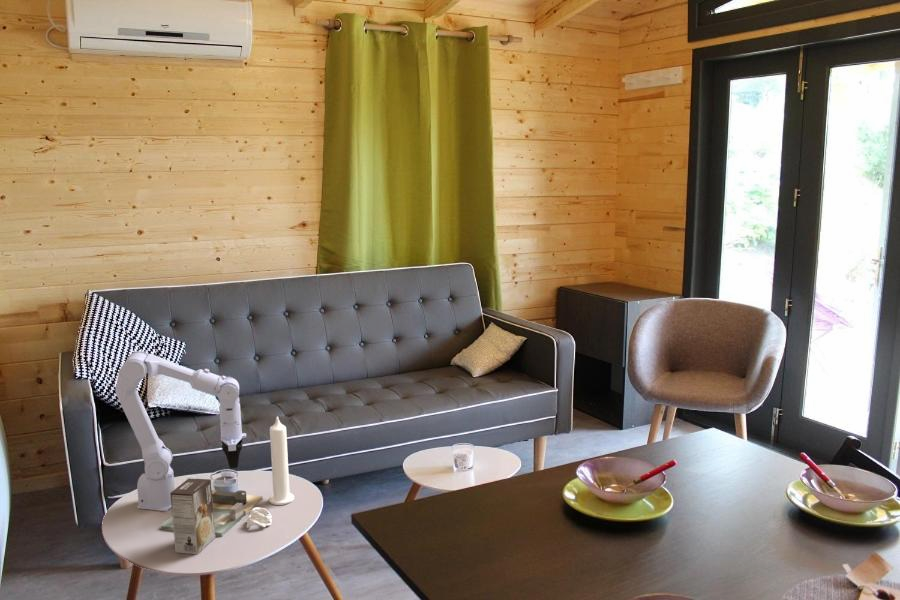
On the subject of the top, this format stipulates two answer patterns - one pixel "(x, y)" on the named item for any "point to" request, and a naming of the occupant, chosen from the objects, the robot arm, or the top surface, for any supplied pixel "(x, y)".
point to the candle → (279, 465)
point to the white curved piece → (259, 517)
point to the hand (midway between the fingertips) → (233, 466)
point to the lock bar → (229, 497)
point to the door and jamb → (225, 514)
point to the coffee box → (192, 515)
